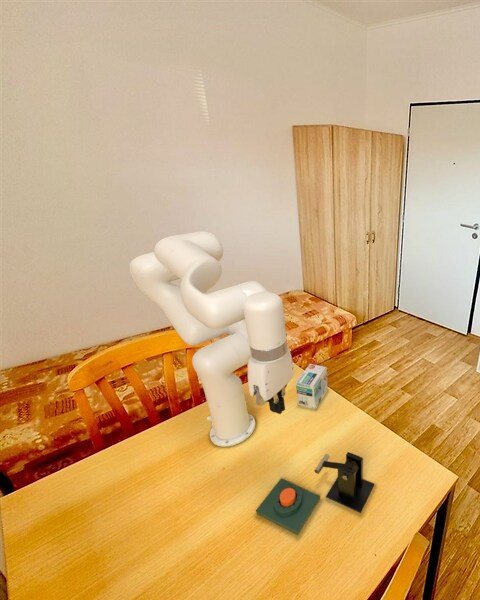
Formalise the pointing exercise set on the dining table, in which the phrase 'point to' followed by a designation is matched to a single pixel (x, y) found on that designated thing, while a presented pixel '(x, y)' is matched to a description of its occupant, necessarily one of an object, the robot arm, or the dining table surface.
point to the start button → (287, 497)
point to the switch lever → (335, 464)
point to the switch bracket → (351, 486)
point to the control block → (292, 515)
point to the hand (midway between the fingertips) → (277, 410)
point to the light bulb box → (312, 386)
